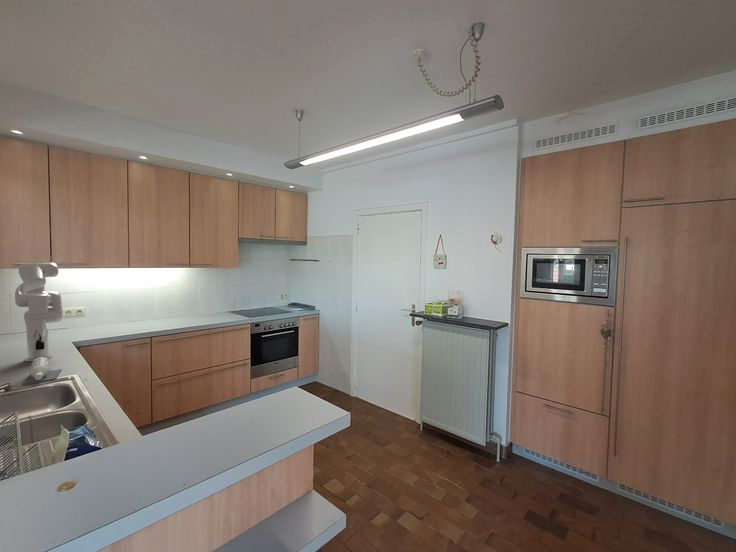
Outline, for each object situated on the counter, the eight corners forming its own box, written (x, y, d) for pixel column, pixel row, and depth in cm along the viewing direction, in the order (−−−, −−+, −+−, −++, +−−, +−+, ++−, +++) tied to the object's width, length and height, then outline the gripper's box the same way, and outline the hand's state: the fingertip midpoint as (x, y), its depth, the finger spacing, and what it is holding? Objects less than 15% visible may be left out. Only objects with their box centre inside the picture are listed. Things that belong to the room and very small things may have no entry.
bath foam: (29, 367, 182) (26, 383, 168) (35, 355, 183) (32, 370, 168) (45, 369, 187) (44, 384, 172) (51, 358, 188) (50, 371, 173)
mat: (30, 374, 182) (30, 373, 182) (61, 370, 189) (61, 369, 189) (21, 384, 168) (21, 383, 168) (55, 379, 175) (55, 378, 175)
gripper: (32, 315, 188) (33, 347, 189) (25, 319, 176) (27, 353, 176) (50, 314, 192) (52, 345, 193) (45, 317, 180) (46, 351, 181)
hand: (40, 349), depth 185 cm, fingers closed
